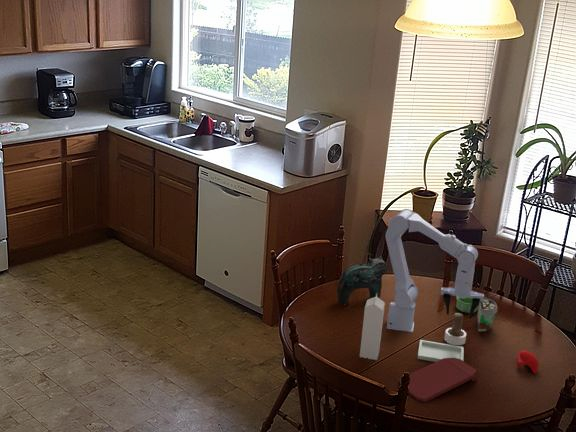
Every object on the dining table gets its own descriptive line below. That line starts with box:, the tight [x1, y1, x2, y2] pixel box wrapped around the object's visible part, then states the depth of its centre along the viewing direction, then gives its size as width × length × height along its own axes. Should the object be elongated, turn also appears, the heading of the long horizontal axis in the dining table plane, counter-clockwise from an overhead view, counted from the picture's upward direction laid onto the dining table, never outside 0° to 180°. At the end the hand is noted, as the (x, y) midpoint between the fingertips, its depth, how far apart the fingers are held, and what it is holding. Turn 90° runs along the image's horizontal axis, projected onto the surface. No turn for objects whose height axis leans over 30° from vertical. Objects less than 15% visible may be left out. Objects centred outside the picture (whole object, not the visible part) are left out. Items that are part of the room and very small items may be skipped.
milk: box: [359, 294, 386, 361], centre depth 236 cm, size 6×6×22 cm
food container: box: [476, 296, 498, 333], centre depth 261 cm, size 12×6×10 cm, turn 168°
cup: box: [444, 327, 467, 346], centre depth 251 cm, size 7×7×4 cm
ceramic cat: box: [336, 253, 387, 306], centre depth 274 cm, size 20×6×20 cm, turn 114°
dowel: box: [451, 312, 464, 337], centre depth 250 cm, size 3×3×10 cm
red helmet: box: [515, 350, 539, 374], centre depth 236 cm, size 8×6×6 cm
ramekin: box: [455, 296, 479, 314], centre depth 276 cm, size 9×9×4 cm
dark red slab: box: [398, 358, 478, 403], centre depth 225 cm, size 12×5×25 cm
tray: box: [417, 339, 465, 363], centre depth 241 cm, size 15×11×2 cm
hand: (458, 315), depth 248 cm, fingers open, 7 cm apart
